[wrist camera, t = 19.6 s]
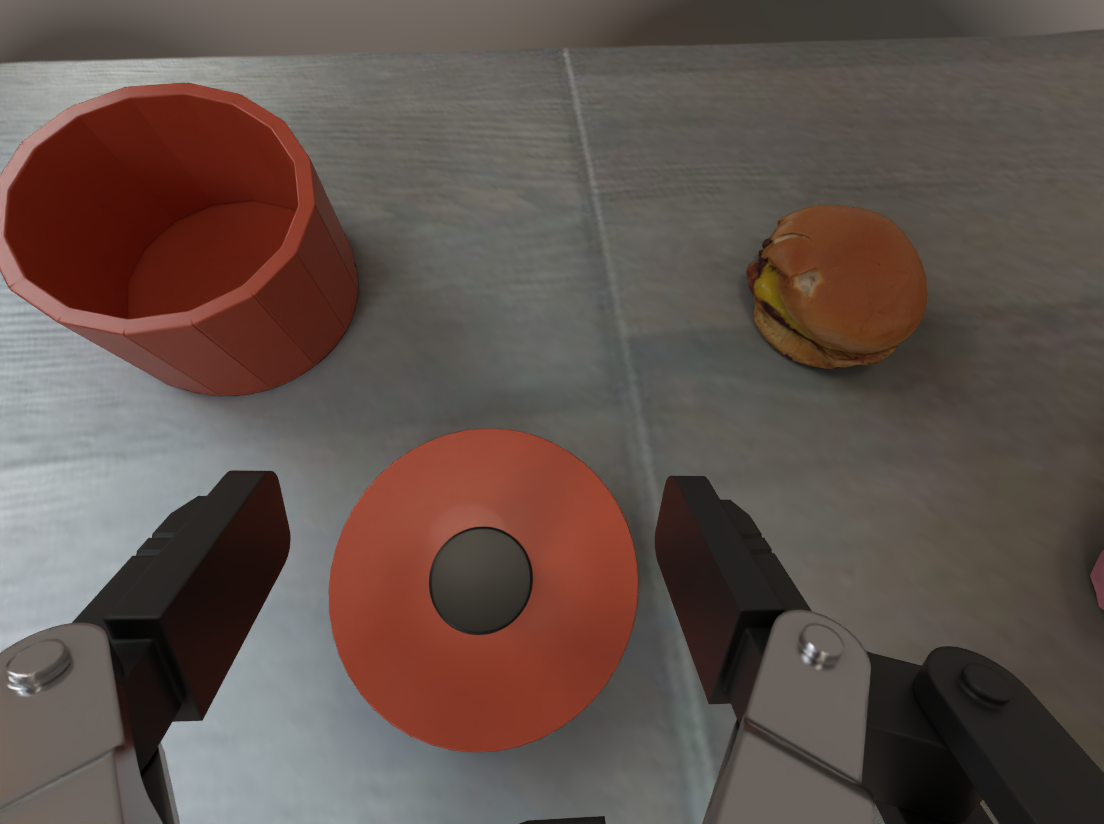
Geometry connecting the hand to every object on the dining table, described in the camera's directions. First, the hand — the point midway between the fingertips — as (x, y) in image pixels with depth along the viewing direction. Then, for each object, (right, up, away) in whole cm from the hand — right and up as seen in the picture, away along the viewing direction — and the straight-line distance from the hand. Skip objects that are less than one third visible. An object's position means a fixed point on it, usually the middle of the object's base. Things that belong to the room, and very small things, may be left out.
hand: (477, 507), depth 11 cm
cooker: (-16, +9, +18) cm, 25 cm away
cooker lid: (-1, -5, +12) cm, 13 cm away
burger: (+18, +9, +21) cm, 29 cm away
